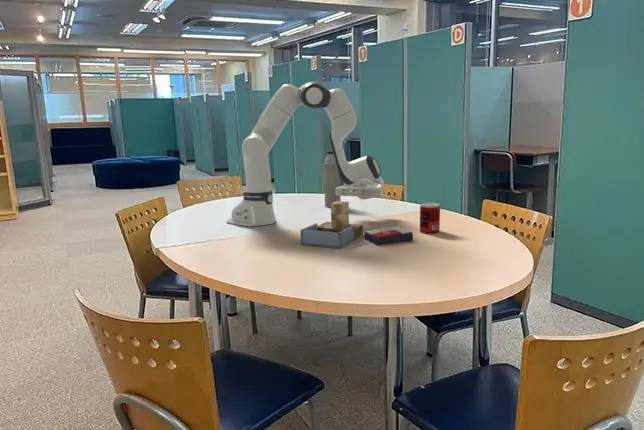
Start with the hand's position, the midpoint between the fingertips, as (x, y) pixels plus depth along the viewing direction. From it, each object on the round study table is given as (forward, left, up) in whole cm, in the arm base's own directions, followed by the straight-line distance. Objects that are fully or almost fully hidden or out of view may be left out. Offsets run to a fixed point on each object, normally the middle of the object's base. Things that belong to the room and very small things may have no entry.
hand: (352, 194), depth 204 cm
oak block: (0, -12, -10) cm, 16 cm away
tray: (0, -24, -14) cm, 28 cm away
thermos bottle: (-28, +42, -15) cm, 53 cm away
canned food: (+31, +6, -15) cm, 34 cm away
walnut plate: (0, -13, -14) cm, 20 cm away
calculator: (+19, -13, -15) cm, 28 cm away
